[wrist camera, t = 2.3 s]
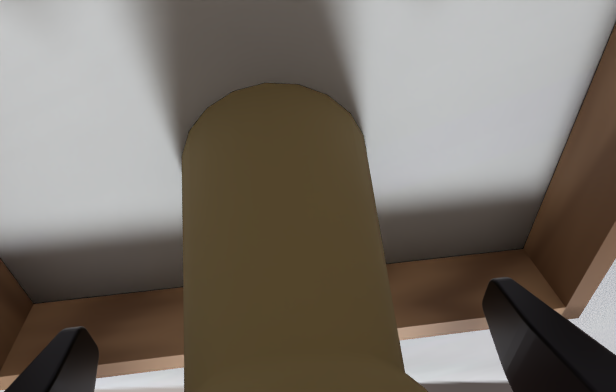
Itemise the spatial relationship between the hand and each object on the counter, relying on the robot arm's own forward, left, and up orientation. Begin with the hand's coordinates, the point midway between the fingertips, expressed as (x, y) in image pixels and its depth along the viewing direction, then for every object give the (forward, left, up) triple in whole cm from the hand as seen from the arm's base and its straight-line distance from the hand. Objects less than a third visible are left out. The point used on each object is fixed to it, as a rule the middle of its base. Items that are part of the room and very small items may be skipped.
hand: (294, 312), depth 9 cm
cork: (0, 0, -6) cm, 6 cm away
